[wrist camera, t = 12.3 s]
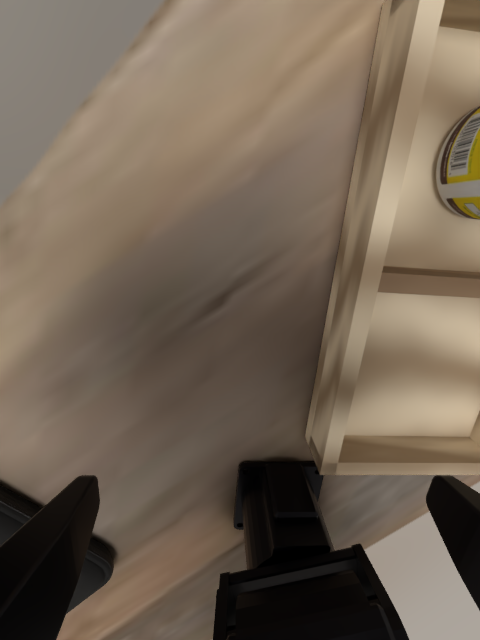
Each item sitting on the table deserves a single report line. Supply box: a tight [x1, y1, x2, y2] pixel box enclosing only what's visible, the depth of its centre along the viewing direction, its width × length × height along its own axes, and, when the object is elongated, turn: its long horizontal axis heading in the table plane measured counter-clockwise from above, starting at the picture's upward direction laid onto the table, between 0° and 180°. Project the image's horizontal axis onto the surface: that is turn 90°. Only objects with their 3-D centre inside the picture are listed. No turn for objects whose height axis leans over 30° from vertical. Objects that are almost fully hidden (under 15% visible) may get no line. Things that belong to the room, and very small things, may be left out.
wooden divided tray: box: [305, 0, 480, 475], centre depth 18 cm, size 25×13×4 cm, turn 176°
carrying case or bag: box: [0, 486, 114, 614], centre depth 23 cm, size 11×3×15 cm
